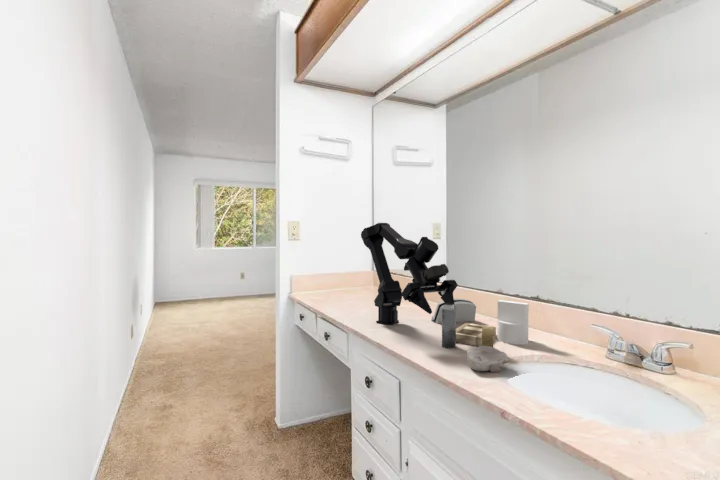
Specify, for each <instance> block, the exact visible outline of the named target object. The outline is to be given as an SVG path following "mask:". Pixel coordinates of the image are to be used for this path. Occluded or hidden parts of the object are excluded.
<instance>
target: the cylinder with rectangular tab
mask: <svg viewBox="0 0 720 480" xmlns="http://www.w3.org/2000/svg"><path fill="white" fill-rule="evenodd" d="M529 305H530V304H529V302H521V301H512V300H505V299H499V300H497V327H496V336H497V340H498V341H499V342H502V343H506V344H510V345H526V344H528V343H529V311H530V310H529V309H530V308H529V307H530V306H529Z"/></svg>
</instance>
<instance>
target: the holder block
mask: <svg viewBox="0 0 720 480" xmlns="http://www.w3.org/2000/svg"><path fill="white" fill-rule="evenodd" d="M482 326H488V327H493V337H495V336H497V326H493V325H484V324H476V323H470V322H465V323H463V324H462V325H460V326H459V327H456V343H460V344H465V345H471V346H476V347H479V346H482Z"/></svg>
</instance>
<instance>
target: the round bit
mask: <svg viewBox="0 0 720 480" xmlns="http://www.w3.org/2000/svg"><path fill="white" fill-rule="evenodd" d="M456 329H457V322H456V309H454V304H448V303H446V304H444V308H443V309H442V323H441V347H443V349H444V348H445V349H455V348H456V347H457V342H456Z"/></svg>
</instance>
